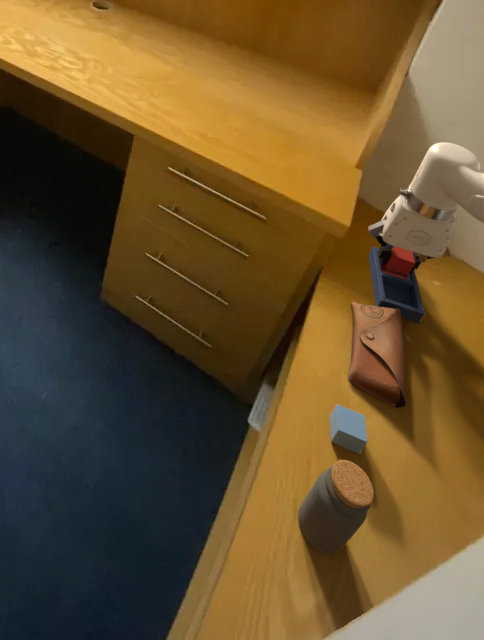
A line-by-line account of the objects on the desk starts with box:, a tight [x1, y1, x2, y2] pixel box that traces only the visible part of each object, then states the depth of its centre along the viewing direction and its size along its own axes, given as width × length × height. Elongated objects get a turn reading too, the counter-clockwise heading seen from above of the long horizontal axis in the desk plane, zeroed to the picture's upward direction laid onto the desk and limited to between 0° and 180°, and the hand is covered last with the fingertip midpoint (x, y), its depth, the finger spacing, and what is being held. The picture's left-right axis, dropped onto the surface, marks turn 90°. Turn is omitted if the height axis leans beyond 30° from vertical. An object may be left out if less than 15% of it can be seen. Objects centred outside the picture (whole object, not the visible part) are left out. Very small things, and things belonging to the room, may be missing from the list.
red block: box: [385, 246, 415, 275], centre depth 104 cm, size 4×4×4 cm
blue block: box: [329, 403, 368, 455], centre depth 80 cm, size 4×4×4 cm
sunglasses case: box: [347, 300, 407, 409], centre depth 92 cm, size 18×7×7 cm, turn 151°
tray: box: [368, 246, 426, 324], centre depth 103 cm, size 7×13×3 cm, turn 156°
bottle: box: [297, 459, 375, 555], centre depth 68 cm, size 6×6×15 cm
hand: (395, 263), depth 104 cm, fingers closed on red block, 4 cm apart
